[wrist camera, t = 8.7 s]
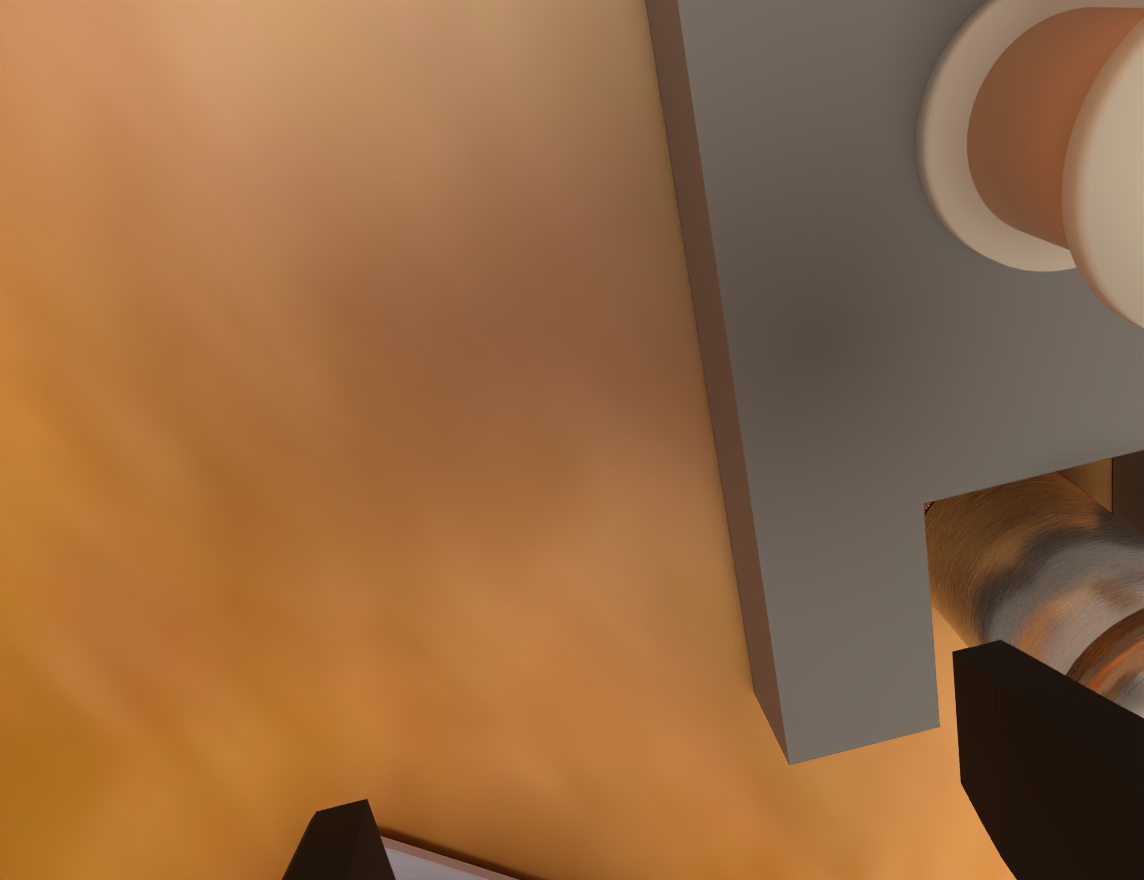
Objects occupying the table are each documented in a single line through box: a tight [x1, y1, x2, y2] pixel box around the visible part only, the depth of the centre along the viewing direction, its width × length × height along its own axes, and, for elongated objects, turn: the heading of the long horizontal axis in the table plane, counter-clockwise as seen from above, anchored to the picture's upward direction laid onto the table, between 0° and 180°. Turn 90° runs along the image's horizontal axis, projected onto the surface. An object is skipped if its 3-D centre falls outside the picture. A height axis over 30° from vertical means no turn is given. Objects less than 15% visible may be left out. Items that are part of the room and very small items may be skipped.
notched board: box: [646, 0, 1144, 765], centre depth 18 cm, size 16×12×8 cm
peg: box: [925, 471, 1144, 718], centre depth 21 cm, size 4×4×7 cm
